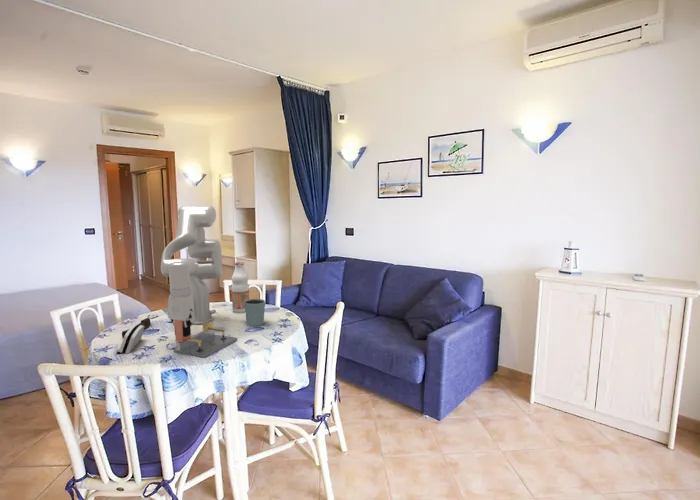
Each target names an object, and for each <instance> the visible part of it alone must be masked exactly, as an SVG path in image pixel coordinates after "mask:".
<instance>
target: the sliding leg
mask: <svg viewBox="0 0 700 500" xmlns="http://www.w3.org/2000/svg"><path fill="white" fill-rule="evenodd" d="M174 321H175V328H174V335H175V336H174V337H175V342H185V341H192V342H198V347H199V350H201V344H200V343H201V340H196V339H191V336H192V334H191V335H189V336H187V337H184V330H183V328H184V322H183V321H179V320H174ZM187 323H188V321H187Z"/></svg>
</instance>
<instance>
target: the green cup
mask: <svg viewBox="0 0 700 500" xmlns="http://www.w3.org/2000/svg"><path fill="white" fill-rule="evenodd" d="M244 304H245V312H244V313H245V320H246V321H245V326H246V327H248V326H249V328H258V326H259V327H261V325H262V326H264V322H265V311H266V310H265V307H266V300H264V299H261V298H251V299H250V298H249V300H246V301H245V302H244Z"/></svg>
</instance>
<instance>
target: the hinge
mask: <svg viewBox="0 0 700 500" xmlns="http://www.w3.org/2000/svg"><path fill="white" fill-rule="evenodd" d="M144 327H145V326H143V325H139V323H137V324H136V323H135V324H133V325H132V326H130V327H129V328H128V329H129V330H128V329H127V330H128V331H127V333H126V334H125V336H124V338H122V342H121V344H120V345H119V347H118V348H117V349H116V350H115V354H114V355H118V353H123V352H124V353H125V354H130V353H131V351H132V350H133V349H134V348H135V347H136V346H137V344H138V343H140V341H141V340H142V337H143V334H144V331H145V329H144Z"/></svg>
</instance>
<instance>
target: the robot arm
mask: <svg viewBox="0 0 700 500" xmlns="http://www.w3.org/2000/svg"><path fill="white" fill-rule="evenodd" d="M177 215H178V218H177V225H176V226H177V227H176V234H175V238H173V240H171V241H170V242H169V243H168V244H167V245H166V246H165V248H164V249H163V251H162V255H161V260H160V261H161V262H160V272H161V274H162V276H164V277H166V278H168V279H169V295H168V300H167V318H168V319H169V320H170V321H171V322H172V325H173V328H174V329H175V321H174V320H179V321H183V322H184V328H183V330H184V337H187V336H189V335H191V336H192V333H191V332H192V331H191V330H192V329H191V328H192V327H191V326H192V325H194V326H195V325H203V324H204V323H207V322H210V323H212V322H213V321H214V316H213V314H216V313H217V310H216V309H212V310H210V309H211V308H210V307H211V306H210V291H209V290H210V288H209V286H208V284H207V283H206V281H205V280H214V279H220V278H222V276H223V259H222V258H223V257H222V247H221V243H220V241H219V240H217V239H206V232H205V230H206V229H205V228H210V227H212V226H213V225H214V223H215V221H216V218H217V211H216V209H215V207H214V206H212V205H184V206H180V207H178V208H177ZM186 248H187V254H188V257H190V258H172V257H173V256H174V255H175V254H176V253H178V252H179V251H182V250H184V249H186ZM196 259H211V260H196ZM187 321H188V323H187Z"/></svg>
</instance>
